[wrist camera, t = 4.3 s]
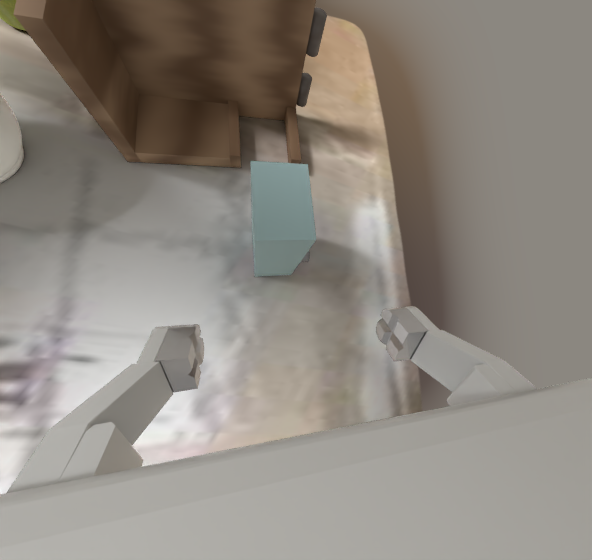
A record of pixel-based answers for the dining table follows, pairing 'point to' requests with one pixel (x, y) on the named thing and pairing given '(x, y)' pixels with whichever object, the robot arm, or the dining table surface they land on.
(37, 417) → the dining table surface
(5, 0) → the plant pot
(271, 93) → the carcass
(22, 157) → the lidded jar
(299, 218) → the pale teal box
